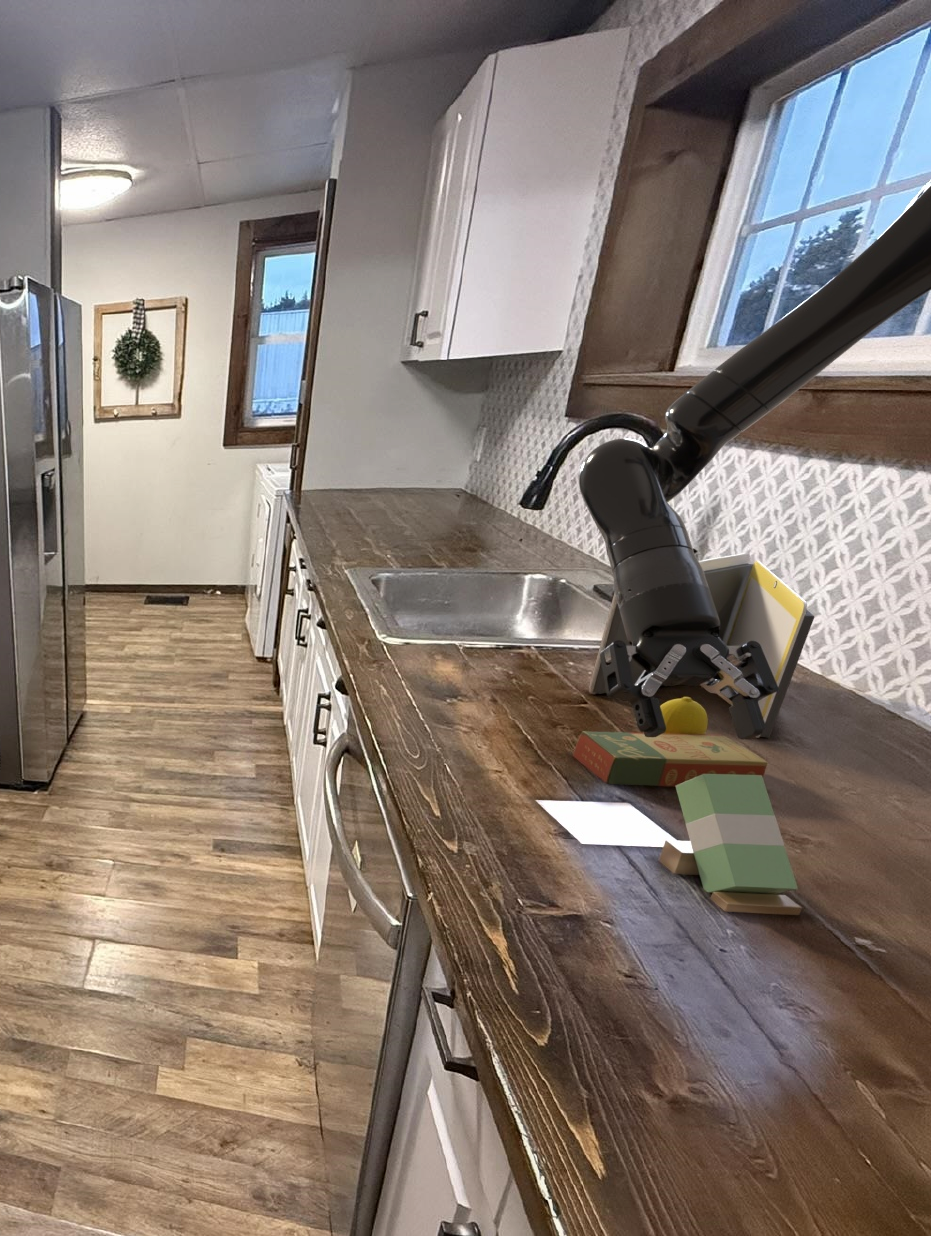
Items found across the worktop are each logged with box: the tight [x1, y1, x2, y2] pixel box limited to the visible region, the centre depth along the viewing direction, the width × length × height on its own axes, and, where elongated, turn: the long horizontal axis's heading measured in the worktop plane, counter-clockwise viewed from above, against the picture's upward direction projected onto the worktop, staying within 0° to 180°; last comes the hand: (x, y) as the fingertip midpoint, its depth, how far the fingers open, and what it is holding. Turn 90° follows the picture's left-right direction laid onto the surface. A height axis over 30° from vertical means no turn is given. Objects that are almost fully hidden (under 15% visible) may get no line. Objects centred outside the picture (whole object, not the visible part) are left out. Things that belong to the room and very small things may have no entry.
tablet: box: [588, 552, 815, 739], centre depth 118 cm, size 35×22×20 cm, turn 147°
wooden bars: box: [658, 839, 803, 916], centre depth 75 cm, size 9×7×3 cm
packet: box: [675, 774, 799, 895], centre depth 75 cm, size 10×5×11 cm, turn 171°
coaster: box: [534, 799, 677, 849], centre depth 87 cm, size 10×10×1 cm
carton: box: [572, 730, 768, 788], centre depth 96 cm, size 8×16×4 cm, turn 78°
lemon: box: [660, 696, 709, 734], centre depth 101 cm, size 6×6×8 cm
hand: (703, 735), depth 79 cm, fingers open, 8 cm apart
